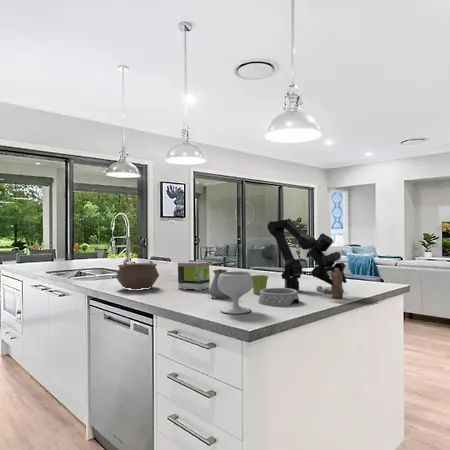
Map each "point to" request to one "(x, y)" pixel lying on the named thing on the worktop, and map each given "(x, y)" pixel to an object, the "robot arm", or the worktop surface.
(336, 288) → the pepper mill
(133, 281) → the brown faceted rounded vessel
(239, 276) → the chalice
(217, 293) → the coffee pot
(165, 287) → the worktop surface
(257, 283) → the plant pot
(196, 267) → the tea box
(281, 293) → the dog bowl
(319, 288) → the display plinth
